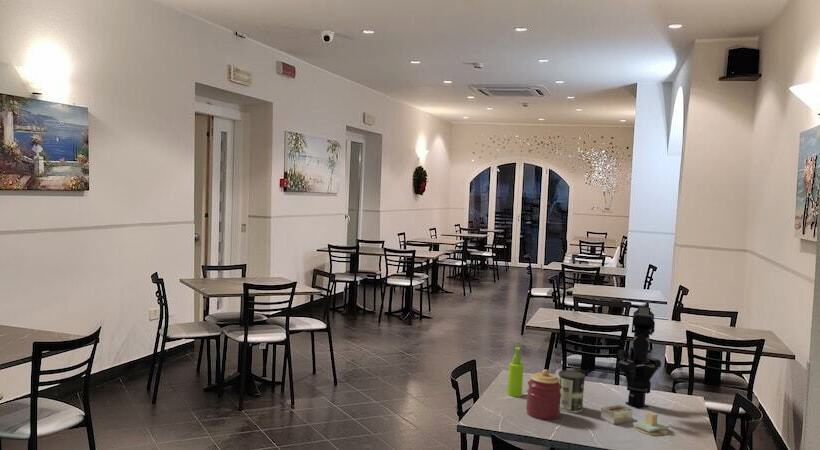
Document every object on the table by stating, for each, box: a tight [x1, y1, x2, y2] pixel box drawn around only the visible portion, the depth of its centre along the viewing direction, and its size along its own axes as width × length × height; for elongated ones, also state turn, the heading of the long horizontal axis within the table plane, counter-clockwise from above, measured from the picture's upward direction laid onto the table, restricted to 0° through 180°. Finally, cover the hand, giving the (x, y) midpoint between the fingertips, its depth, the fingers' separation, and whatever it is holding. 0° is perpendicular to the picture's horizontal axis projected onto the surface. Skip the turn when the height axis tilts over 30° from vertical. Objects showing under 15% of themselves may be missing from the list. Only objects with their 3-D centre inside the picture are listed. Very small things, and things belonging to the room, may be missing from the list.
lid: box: [632, 411, 670, 432], centre depth 238 cm, size 11×8×6 cm
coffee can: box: [558, 369, 586, 414], centre depth 256 cm, size 10×10×14 cm
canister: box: [525, 369, 562, 420], centre depth 247 cm, size 13×13×18 cm
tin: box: [600, 404, 634, 426], centre depth 246 cm, size 10×6×4 cm, turn 120°
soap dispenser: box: [507, 346, 525, 398], centre depth 270 cm, size 6×7×20 cm
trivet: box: [633, 425, 669, 437], centre depth 238 cm, size 12×12×1 cm
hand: (637, 385), depth 252 cm, fingers open, 9 cm apart
